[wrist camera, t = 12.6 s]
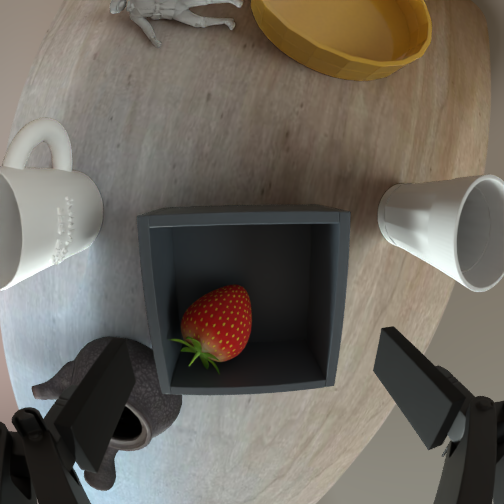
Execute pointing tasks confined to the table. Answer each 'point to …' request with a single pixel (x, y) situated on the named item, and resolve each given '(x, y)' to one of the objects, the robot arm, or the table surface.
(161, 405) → the teapot
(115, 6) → the soldier figure
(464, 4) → the table surface
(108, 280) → the table surface
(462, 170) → the table surface
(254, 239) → the bin
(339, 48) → the bowl
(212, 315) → the fruit
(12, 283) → the mug
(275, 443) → the table surface
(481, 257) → the cup
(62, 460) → the robot arm
